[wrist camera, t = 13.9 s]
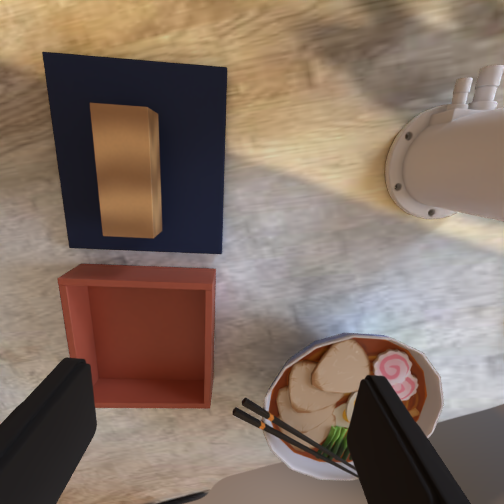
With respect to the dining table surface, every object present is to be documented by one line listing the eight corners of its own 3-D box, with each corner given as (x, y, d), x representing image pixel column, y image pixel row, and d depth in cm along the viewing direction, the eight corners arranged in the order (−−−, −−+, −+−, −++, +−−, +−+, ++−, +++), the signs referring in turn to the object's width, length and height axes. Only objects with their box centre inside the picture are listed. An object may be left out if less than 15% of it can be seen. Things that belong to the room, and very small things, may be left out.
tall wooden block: (113, 113, 29) (89, 102, 24) (162, 116, 29) (147, 106, 25) (122, 225, 33) (102, 236, 28) (166, 227, 33) (153, 238, 28)
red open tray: (81, 263, 34) (57, 278, 30) (215, 268, 36) (212, 283, 31) (96, 379, 40) (77, 407, 35) (213, 381, 41) (210, 408, 36)
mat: (47, 54, 28) (41, 51, 27) (227, 69, 29) (226, 67, 28) (72, 246, 34) (69, 247, 33) (221, 252, 35) (221, 254, 34)
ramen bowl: (445, 364, 42) (492, 410, 34) (338, 455, 46) (359, 514, 39) (326, 267, 36) (351, 294, 28) (219, 381, 41) (214, 432, 33)
